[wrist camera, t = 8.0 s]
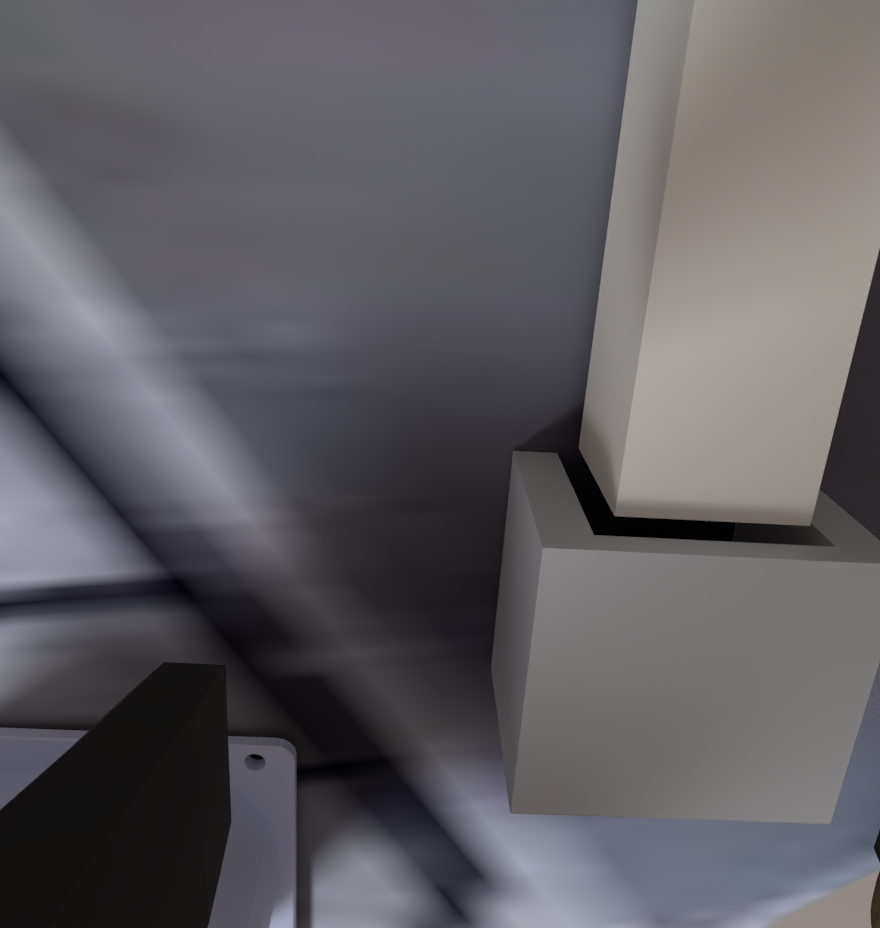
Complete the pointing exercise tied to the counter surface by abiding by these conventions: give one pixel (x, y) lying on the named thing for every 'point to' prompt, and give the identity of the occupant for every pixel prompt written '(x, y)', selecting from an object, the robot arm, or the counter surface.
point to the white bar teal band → (735, 257)
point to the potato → (876, 905)
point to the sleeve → (679, 661)
